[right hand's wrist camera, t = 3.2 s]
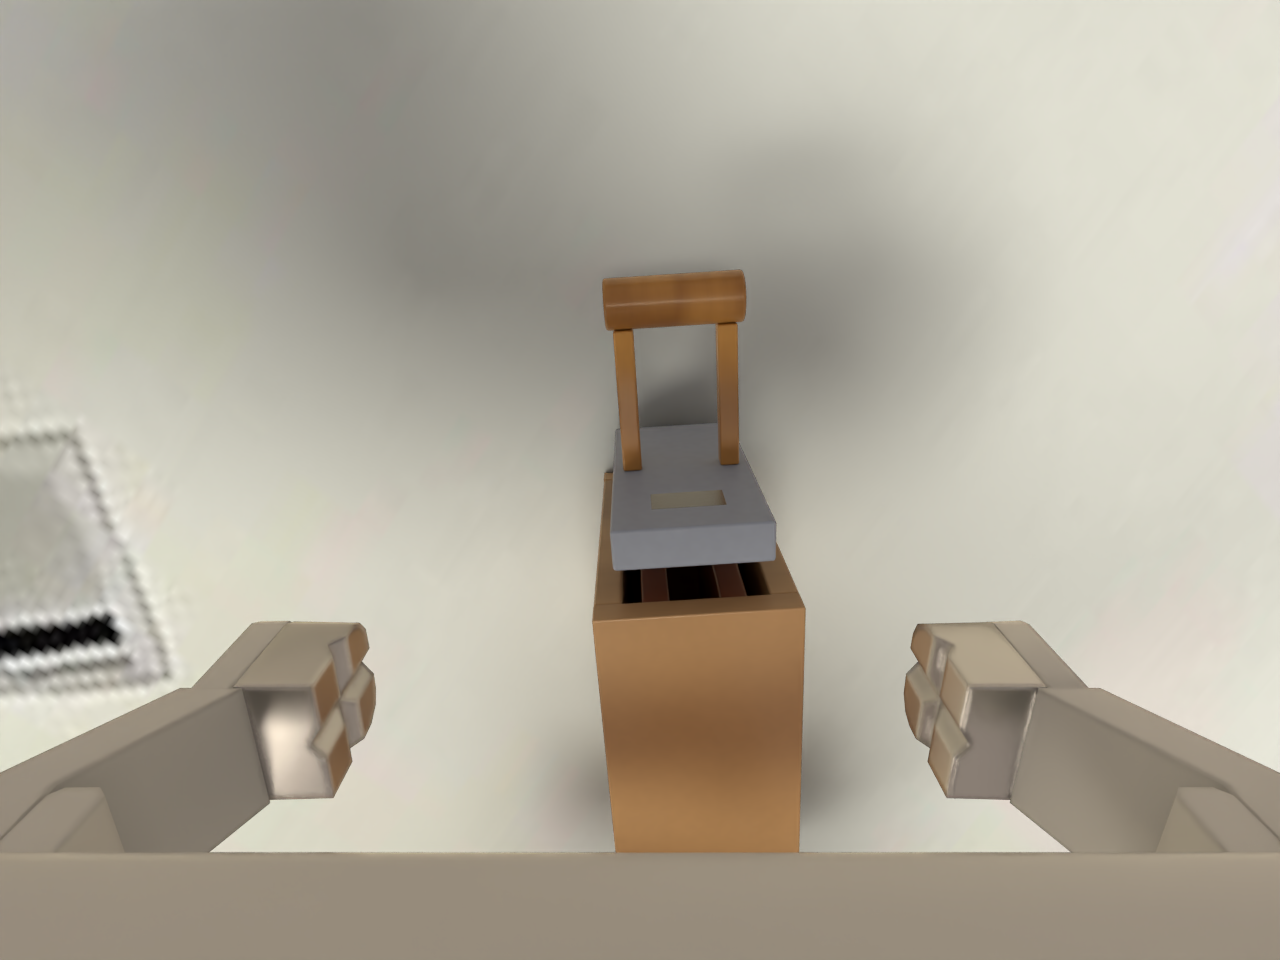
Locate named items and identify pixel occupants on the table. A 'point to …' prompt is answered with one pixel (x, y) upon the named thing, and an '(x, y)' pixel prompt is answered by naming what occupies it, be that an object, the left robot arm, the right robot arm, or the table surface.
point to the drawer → (683, 452)
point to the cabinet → (701, 710)
